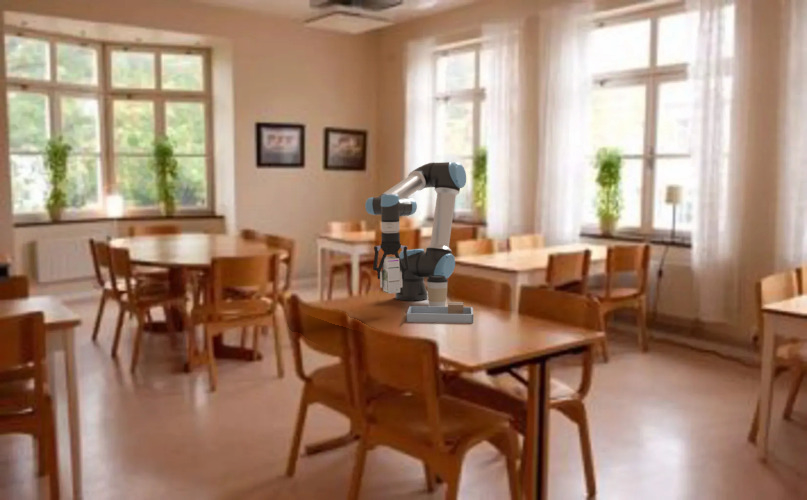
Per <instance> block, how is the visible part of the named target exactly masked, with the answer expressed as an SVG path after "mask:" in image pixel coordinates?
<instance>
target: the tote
mask: <svg viewBox="0 0 807 500" xmlns="http://www.w3.org/2000/svg"><path fill="white" fill-rule="evenodd" d="M406 322H407V323H446V324H448V323H453V324H457V323H458V324H474V307H473V306H463V314H448V306H445V307H442V306H429V305H428V306H427V305H425V306H424V305H409V307H408V309H407V311H406Z"/></svg>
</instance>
